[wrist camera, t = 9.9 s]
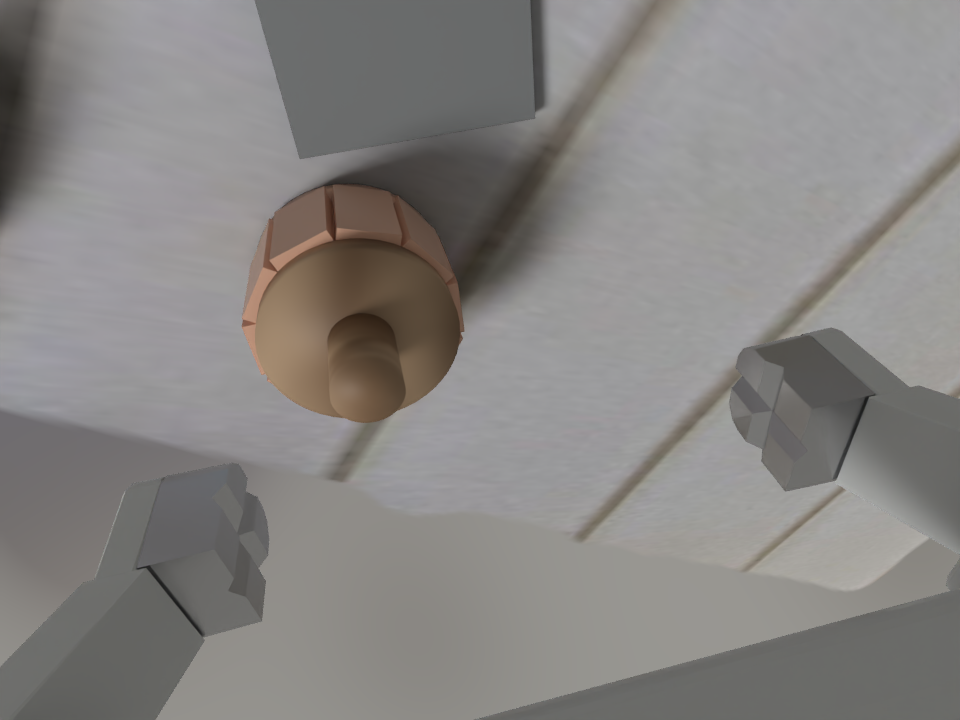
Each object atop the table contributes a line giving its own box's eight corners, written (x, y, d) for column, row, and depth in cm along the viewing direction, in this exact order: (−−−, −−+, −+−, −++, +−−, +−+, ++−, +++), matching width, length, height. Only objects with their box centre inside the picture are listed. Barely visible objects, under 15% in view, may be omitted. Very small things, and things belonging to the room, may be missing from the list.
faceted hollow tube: (426, 164, 32) (447, 207, 27) (452, 330, 38) (472, 388, 34) (225, 199, 30) (210, 251, 26) (288, 365, 37) (284, 431, 32)
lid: (441, 220, 27) (465, 273, 23) (465, 381, 33) (487, 446, 29) (226, 261, 26) (211, 325, 22) (290, 420, 32) (288, 494, 28)
